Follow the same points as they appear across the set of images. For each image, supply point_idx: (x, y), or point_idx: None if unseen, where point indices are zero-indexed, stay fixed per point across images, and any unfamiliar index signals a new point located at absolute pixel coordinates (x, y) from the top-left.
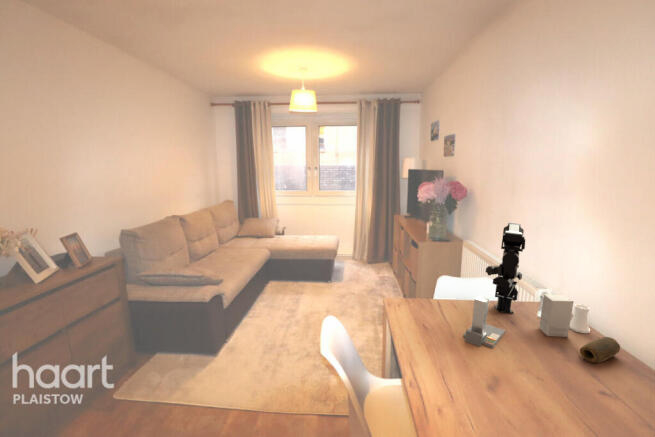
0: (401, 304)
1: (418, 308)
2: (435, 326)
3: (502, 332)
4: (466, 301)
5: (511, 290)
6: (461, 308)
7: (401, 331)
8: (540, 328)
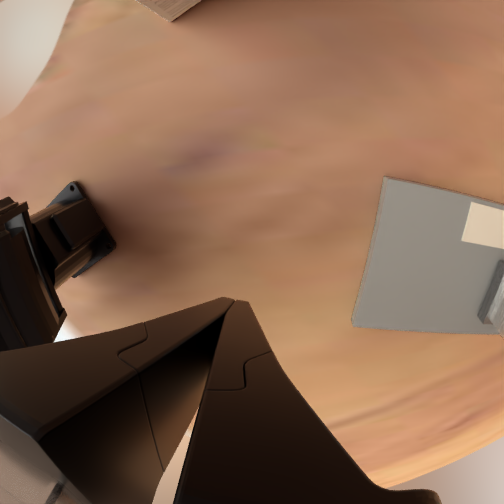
0: None
1: None
2: (454, 407)
3: (425, 191)
4: None
5: (183, 344)
6: None
7: (499, 433)
8: (181, 11)
